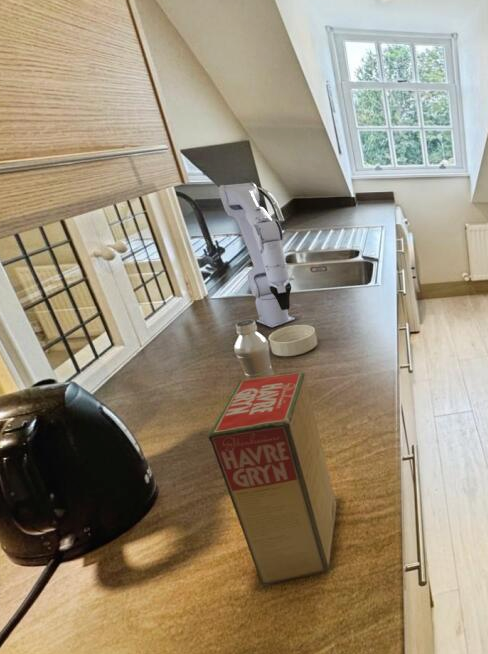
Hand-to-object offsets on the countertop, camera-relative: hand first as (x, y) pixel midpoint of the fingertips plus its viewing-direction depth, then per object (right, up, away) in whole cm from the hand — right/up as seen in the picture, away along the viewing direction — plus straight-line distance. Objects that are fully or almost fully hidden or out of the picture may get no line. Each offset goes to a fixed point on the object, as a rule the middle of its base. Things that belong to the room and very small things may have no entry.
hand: (285, 308), depth 133 cm
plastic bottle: (+11, -22, -31) cm, 40 cm away
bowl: (+5, -11, -5) cm, 13 cm away
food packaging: (+33, -36, -66) cm, 82 cm away
